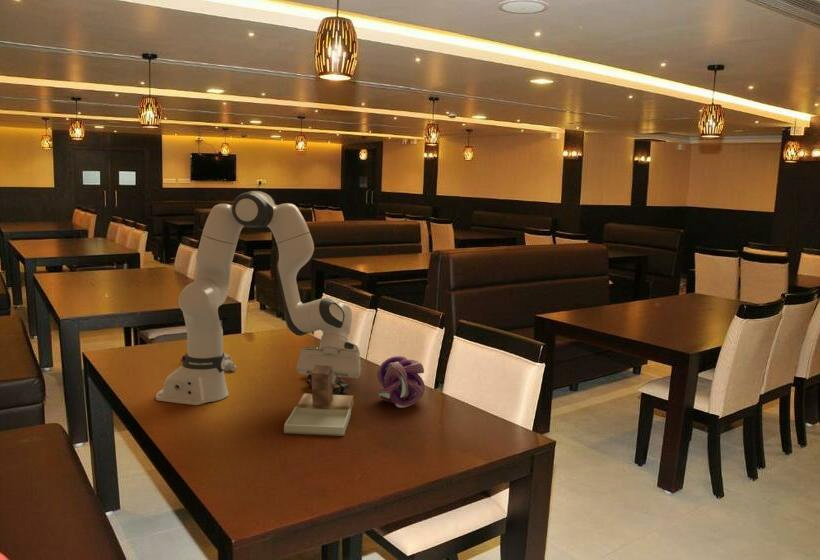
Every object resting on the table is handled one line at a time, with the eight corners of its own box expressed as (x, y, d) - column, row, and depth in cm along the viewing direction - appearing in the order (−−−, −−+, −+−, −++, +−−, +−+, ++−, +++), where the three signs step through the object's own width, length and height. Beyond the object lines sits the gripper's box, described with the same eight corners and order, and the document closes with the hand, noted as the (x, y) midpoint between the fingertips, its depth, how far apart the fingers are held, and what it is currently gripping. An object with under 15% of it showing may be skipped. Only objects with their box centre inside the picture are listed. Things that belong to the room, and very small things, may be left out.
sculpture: (425, 418, 198) (433, 379, 215) (412, 377, 191) (421, 340, 208) (379, 422, 202) (390, 384, 219) (364, 382, 195) (378, 345, 212)
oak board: (297, 413, 192) (297, 404, 192) (304, 402, 202) (304, 393, 202) (349, 415, 192) (349, 406, 191) (353, 404, 202) (353, 395, 201)
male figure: (212, 333, 250) (245, 349, 233) (211, 356, 252) (245, 374, 235) (186, 337, 242) (218, 354, 225) (185, 361, 244) (218, 379, 227)
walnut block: (312, 407, 190) (311, 372, 186) (317, 398, 195) (315, 364, 191) (328, 408, 190) (327, 374, 185) (332, 400, 194) (331, 366, 190)
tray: (284, 433, 177) (284, 424, 176) (295, 413, 192) (296, 405, 192) (343, 436, 176) (343, 427, 176) (350, 416, 192) (350, 408, 191)
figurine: (328, 360, 233) (357, 382, 206) (328, 375, 234) (357, 399, 207) (295, 363, 227) (321, 387, 201) (295, 378, 228) (321, 404, 202)
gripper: (299, 341, 200) (290, 380, 192) (362, 345, 198) (355, 384, 190) (303, 351, 206) (294, 389, 197) (364, 355, 203) (357, 394, 195)
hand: (324, 387), depth 194 cm, fingers closed
